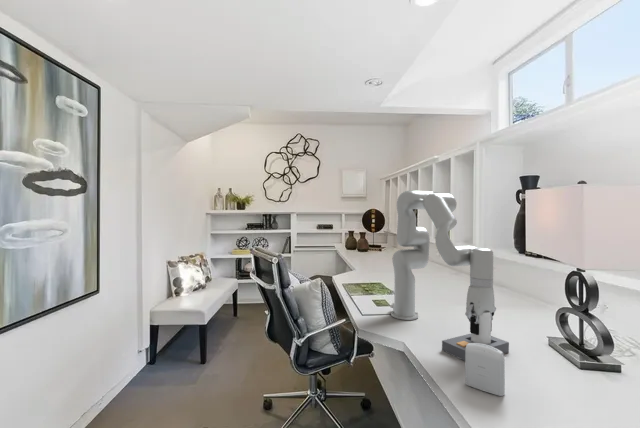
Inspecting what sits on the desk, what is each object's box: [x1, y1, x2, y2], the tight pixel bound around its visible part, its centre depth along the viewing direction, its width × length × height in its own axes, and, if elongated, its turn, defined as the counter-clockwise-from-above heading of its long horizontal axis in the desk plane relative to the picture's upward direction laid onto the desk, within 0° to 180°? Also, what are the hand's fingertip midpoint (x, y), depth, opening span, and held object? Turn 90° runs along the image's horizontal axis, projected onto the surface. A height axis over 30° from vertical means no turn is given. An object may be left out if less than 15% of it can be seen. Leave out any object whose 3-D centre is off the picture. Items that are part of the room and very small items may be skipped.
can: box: [470, 311, 492, 345], centre depth 121 cm, size 6×6×12 cm
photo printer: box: [464, 343, 506, 397], centre depth 95 cm, size 10×4×12 cm, turn 47°
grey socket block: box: [441, 333, 510, 362], centre depth 120 cm, size 12×20×4 cm, turn 118°
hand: (480, 331), depth 121 cm, fingers closed on can, 6 cm apart
